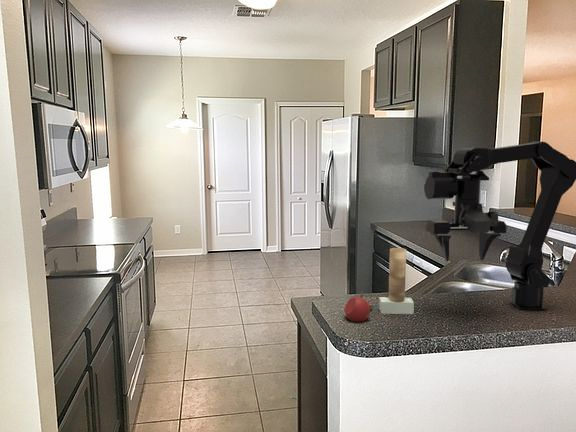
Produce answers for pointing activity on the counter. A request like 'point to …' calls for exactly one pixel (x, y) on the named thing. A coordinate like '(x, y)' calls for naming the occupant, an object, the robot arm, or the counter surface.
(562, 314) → the counter surface
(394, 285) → the oak post
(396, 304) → the white block
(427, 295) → the counter surface
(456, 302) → the counter surface
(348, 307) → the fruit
